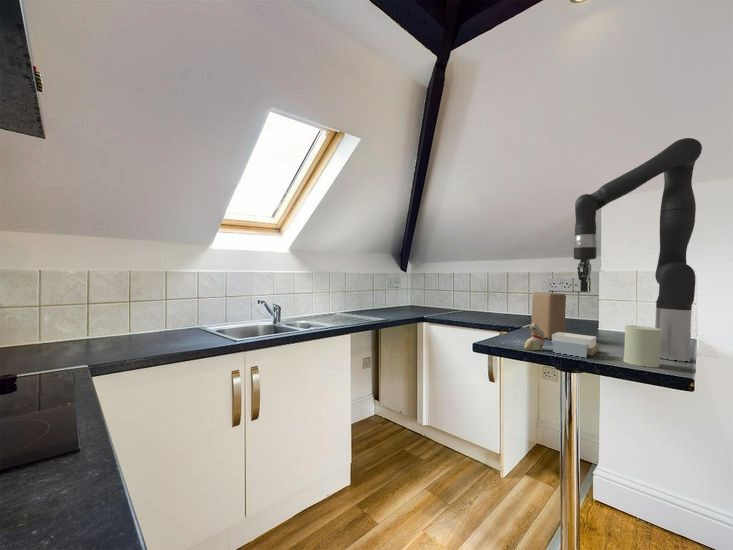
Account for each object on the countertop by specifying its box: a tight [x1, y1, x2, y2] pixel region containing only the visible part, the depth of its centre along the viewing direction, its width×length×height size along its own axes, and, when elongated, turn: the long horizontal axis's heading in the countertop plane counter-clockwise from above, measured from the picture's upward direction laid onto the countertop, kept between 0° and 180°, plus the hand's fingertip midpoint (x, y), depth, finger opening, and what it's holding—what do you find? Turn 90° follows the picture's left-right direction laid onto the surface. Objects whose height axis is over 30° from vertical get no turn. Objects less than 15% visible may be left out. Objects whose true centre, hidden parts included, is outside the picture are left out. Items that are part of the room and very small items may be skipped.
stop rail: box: [552, 340, 588, 359], centre depth 119 cm, size 10×2×4 cm, turn 48°
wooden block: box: [530, 291, 567, 340], centre depth 156 cm, size 10×10×20 cm
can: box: [622, 325, 661, 368], centre depth 111 cm, size 9×9×12 cm
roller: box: [587, 348, 594, 357], centre depth 123 cm, size 12×3×3 cm
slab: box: [551, 332, 597, 349], centre depth 123 cm, size 12×9×3 cm
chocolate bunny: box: [523, 323, 545, 351], centre depth 127 cm, size 6×8×10 cm
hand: (584, 291), depth 134 cm, fingers closed
